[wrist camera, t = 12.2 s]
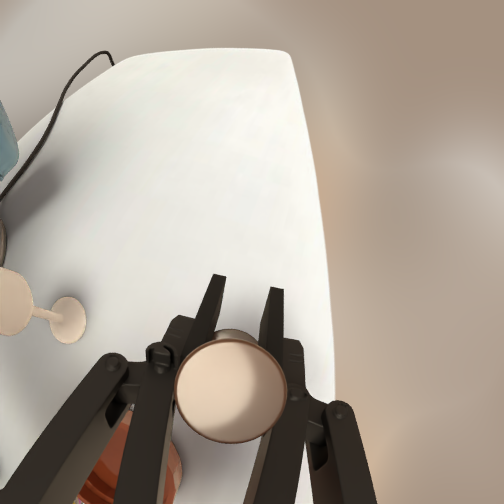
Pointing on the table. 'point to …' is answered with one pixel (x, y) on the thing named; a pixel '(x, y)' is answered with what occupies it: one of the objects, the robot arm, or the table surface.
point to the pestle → (230, 388)
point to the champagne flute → (37, 310)
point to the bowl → (107, 468)
